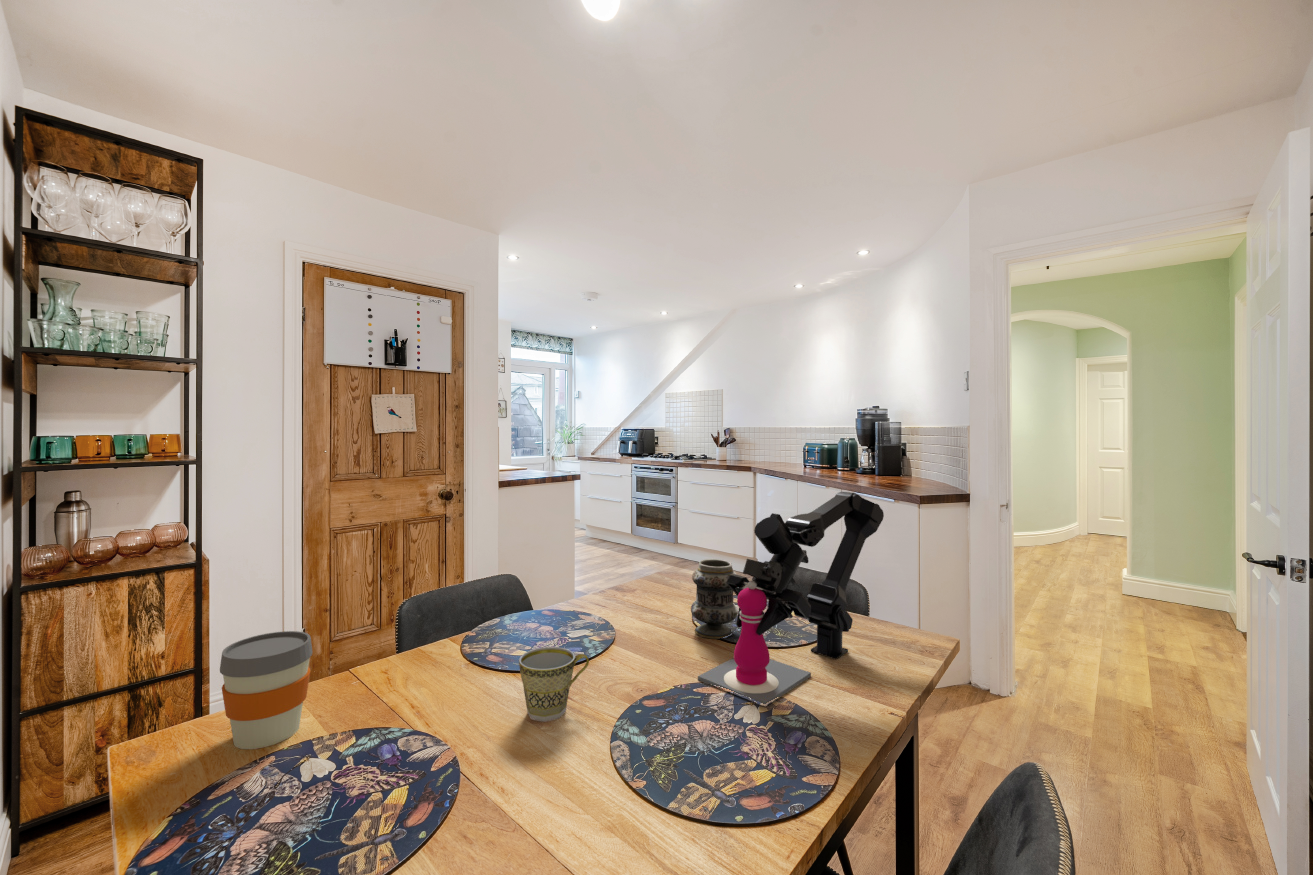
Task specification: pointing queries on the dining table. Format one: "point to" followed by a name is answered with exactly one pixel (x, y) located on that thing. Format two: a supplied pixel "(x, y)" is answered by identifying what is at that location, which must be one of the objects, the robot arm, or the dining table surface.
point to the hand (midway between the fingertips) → (747, 630)
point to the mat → (775, 686)
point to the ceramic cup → (548, 680)
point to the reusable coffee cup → (265, 686)
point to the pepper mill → (751, 637)
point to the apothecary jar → (713, 598)
